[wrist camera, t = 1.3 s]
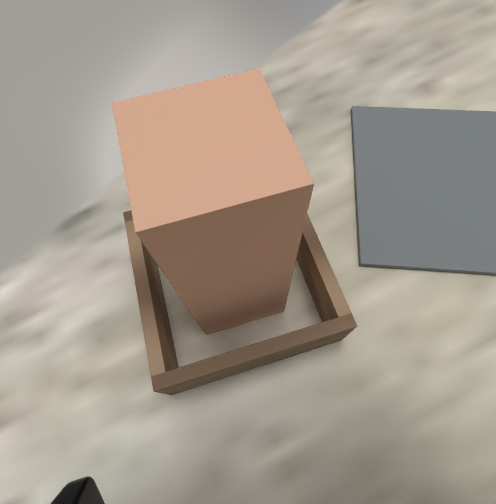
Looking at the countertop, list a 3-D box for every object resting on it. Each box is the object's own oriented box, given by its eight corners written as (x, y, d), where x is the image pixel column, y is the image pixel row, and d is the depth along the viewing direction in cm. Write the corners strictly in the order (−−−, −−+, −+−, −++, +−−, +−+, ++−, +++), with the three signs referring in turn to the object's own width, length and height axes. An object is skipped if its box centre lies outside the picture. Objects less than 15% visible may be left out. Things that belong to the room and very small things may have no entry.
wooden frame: (342, 339, 20) (357, 326, 17) (171, 394, 19) (153, 391, 16) (283, 200, 25) (287, 168, 21) (141, 239, 24) (123, 212, 20)
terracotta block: (283, 310, 21) (314, 183, 9) (205, 334, 21) (135, 232, 9) (259, 242, 23) (258, 68, 12) (188, 262, 23) (111, 103, 11)
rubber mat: (586, 281, 21) (592, 279, 21) (359, 265, 22) (360, 263, 22) (529, 117, 27) (532, 113, 27) (351, 110, 28) (352, 106, 28)
